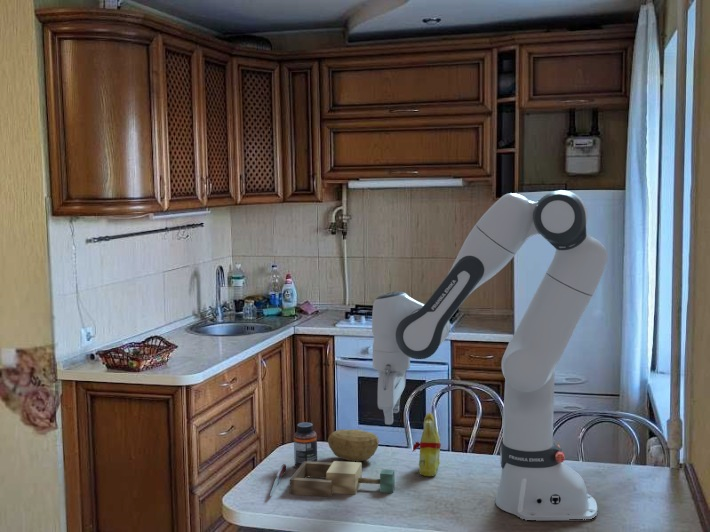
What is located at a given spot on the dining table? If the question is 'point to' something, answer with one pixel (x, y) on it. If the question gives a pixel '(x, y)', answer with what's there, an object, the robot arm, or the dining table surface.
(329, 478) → the oak block with dowel handle
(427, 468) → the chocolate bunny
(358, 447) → the potato
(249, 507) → the dining table surface
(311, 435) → the supplement bottle
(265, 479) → the dining table surface
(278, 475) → the knife
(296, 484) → the tan piece
